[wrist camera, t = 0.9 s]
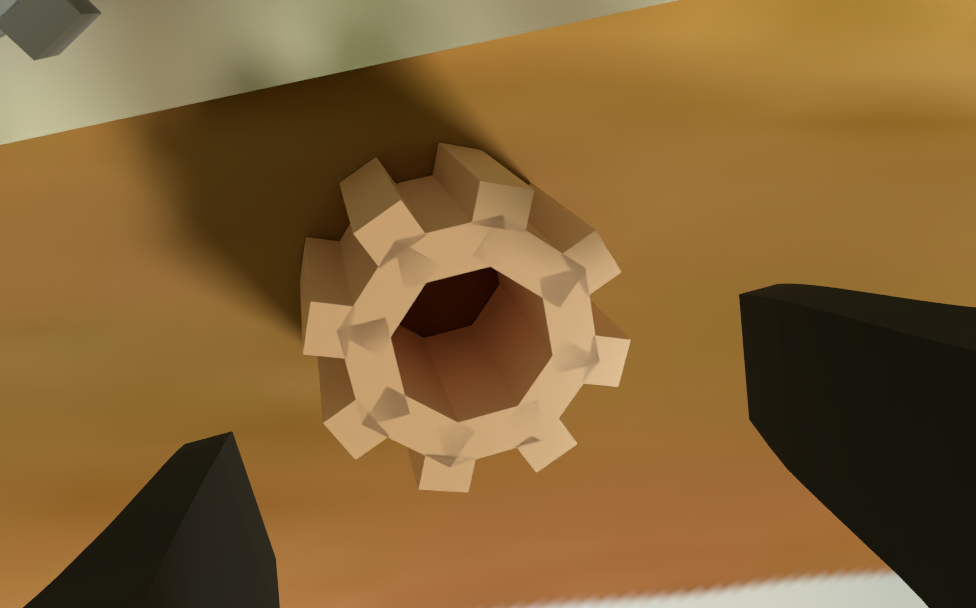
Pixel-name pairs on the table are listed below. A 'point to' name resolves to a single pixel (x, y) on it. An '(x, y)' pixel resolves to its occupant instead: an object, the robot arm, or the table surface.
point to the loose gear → (469, 350)
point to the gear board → (226, 48)
